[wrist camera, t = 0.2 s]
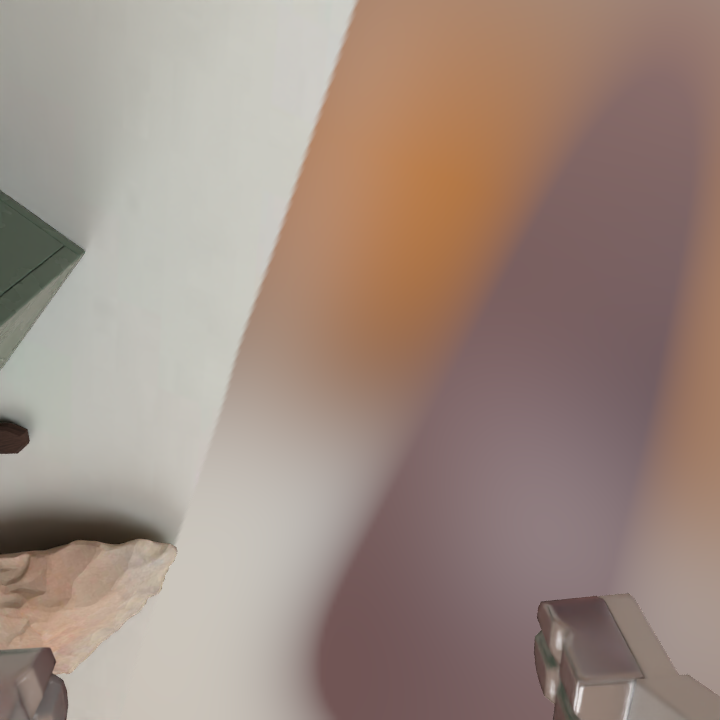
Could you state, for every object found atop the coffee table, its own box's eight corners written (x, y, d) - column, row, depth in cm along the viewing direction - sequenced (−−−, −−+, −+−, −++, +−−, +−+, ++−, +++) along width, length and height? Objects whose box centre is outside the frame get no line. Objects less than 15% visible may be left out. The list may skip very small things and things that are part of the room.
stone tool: (-133, 648, 35) (78, 521, 32) (-80, 582, 39) (111, 464, 36) (-6, 741, 38) (198, 635, 35) (30, 671, 43) (215, 570, 39)
